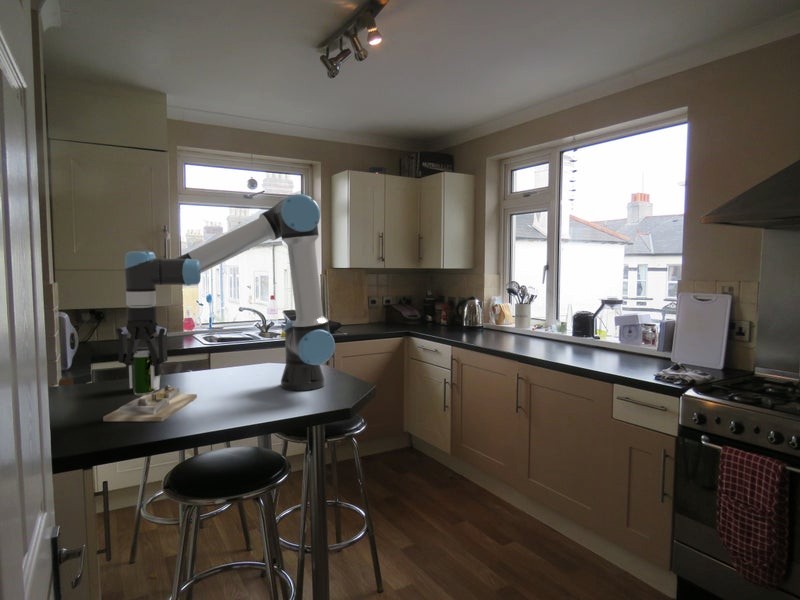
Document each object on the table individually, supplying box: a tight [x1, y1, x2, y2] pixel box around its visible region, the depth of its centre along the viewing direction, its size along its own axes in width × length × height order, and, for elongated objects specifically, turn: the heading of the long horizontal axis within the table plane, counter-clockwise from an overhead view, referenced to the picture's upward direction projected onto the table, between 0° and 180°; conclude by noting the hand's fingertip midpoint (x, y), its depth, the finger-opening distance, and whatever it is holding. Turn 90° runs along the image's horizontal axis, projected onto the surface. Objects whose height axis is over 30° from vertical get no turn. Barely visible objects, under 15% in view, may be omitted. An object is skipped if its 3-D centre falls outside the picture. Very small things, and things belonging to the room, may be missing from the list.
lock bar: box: [156, 384, 176, 401], centre depth 158 cm, size 2×8×3 cm, turn 0°
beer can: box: [133, 351, 156, 397], centre depth 144 cm, size 5×5×12 cm
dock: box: [102, 387, 198, 422], centre depth 150 cm, size 16×24×3 cm, turn 0°
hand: (144, 387), depth 145 cm, fingers closed on beer can, 5 cm apart
